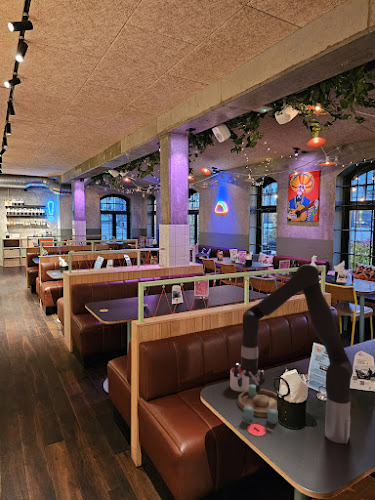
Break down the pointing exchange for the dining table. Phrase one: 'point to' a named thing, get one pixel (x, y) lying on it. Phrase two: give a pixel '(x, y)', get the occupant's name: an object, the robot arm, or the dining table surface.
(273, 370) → the dining table surface
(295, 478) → the dining table surface
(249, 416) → the bead
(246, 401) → the tray
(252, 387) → the bead
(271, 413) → the bead
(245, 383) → the cup
